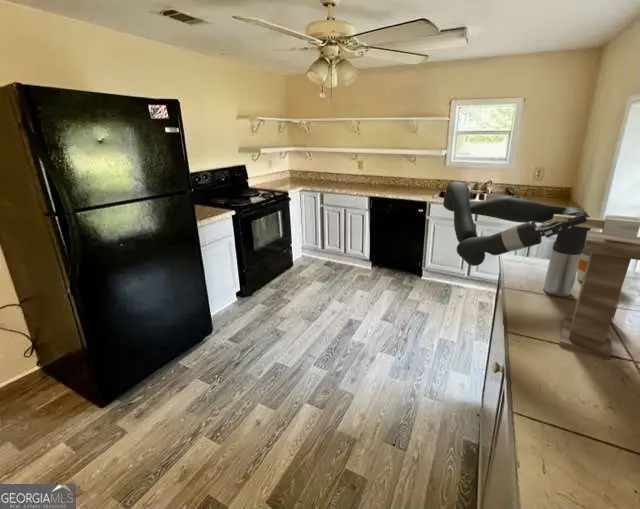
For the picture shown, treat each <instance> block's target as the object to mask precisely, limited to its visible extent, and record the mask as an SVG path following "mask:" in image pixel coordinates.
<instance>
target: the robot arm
mask: <svg viewBox="0 0 640 509" xmlns="http://www.w3.org/2000/svg"><path fill="white" fill-rule="evenodd" d="M443 197H444V198H443V202H442V205H443V207H444V209H445V210H447V211H449V212H453V227H454V233H455V235H456V236H455V237H456V240H457V241H458V244H457V247H456V253H457V255H458V256H459V257H461V259H462V260H464V262H465V263H467V265H469V266H471V267H472V266H473V267H477V266H480V265H481V264H482V263H484V261H485V258H486V253H487V254H490V255H491V256H499V255H502V254H506V253H510V252H514V251H519V250H523V249H526V248H530V247H533V246H537V245H540V244H541V243H542V240H543V239H542V237H546V238H550V237H554V236H555V235H556V238H555V241H554V242H553V245H552V248H551V249H552V250H551V253H550V257H549V262H548V266H547V270H546V271H547V272H546V276H545V279H544V283H543V288H542V289H543V290H544V292H545V293H548V294H550V295H553V296H558V297H568V296H571V295H572V290H573V288H574V284H575V281H576V278H577V269H578V266H579V262H580V258H581V254H582V250H583V248H584V247H585V240H586V235H587V231H591V229H592V228H586V227H578V226H575V225H578V224H581V223H585V222H586V221H587V219H586V217H589V218H591V216H590V215H589V214H588V213H587V212H586V211H585V210H583V209H582V208H579V207H571V206H559V205H550V204H545V203H541V202H536V201H533V200H528V199H524V198H519V197H514V196H505V195H504V196H498V197H494V198H490V199H486V200H481V201H480V200H479V201H478V200H471V199H470V188H469V186H468V185H467V184H465V183H464V182H461V181H454V182H451V183H449V184H448V185H447V187H446V189H445V192H444V196H443ZM554 214H558V215H569V216H577V217H573V218H570V219H569V220H568V219H565V220H563V221H554V222H552V220H553V216H554ZM473 215H478V216H484V217H488V218H489V217H490V218H494V219H499V220H504V221H508V222H513V223H521V224H518V225H516V226H513V227H509V228H506V229H505V230H503V231H500V232H496V233H494V234H492V235H483V236H481V235H480V236H478V233H477V229H476V226H475V225H476V224H475V222H474V219H473ZM539 223H540V225H537V224H539Z"/></svg>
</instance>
